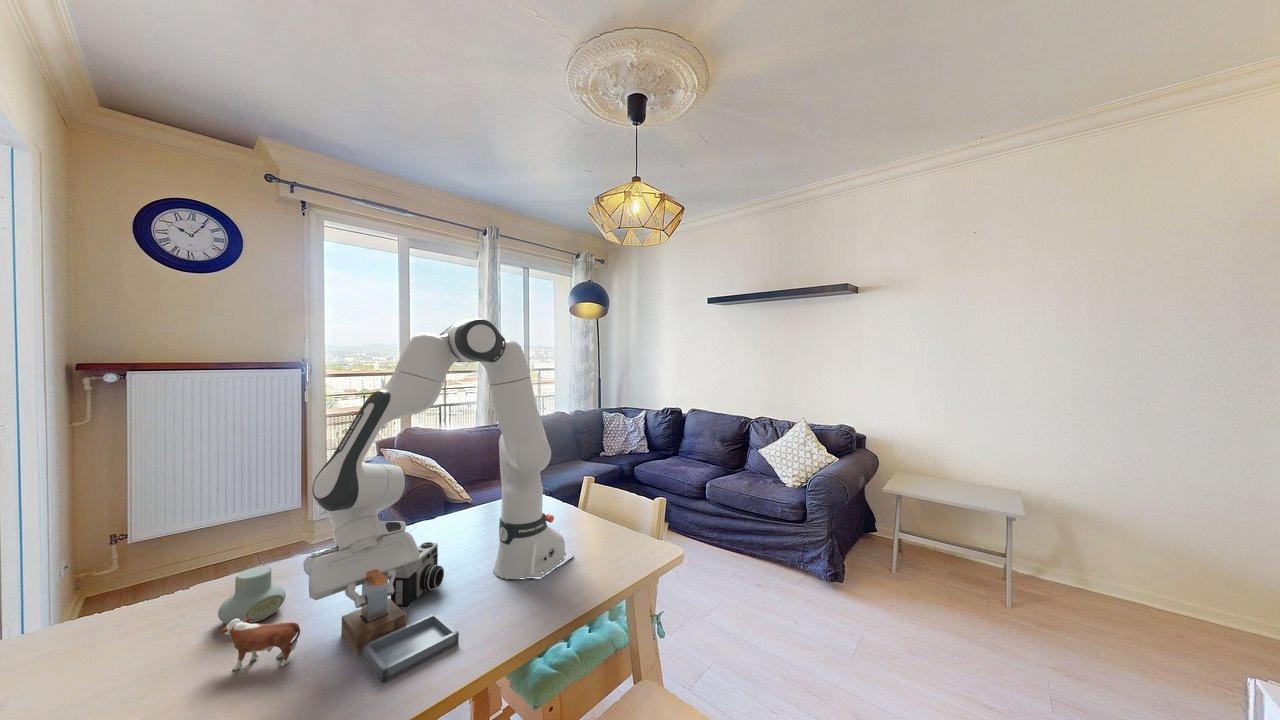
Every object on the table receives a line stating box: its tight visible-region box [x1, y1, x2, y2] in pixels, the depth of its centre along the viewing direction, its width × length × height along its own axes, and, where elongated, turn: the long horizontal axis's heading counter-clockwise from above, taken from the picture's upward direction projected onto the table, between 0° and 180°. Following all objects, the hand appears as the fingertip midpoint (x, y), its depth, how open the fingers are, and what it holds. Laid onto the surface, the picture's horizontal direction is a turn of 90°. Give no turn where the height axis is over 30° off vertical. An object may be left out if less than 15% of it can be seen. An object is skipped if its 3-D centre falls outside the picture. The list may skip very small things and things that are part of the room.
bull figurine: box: [220, 618, 301, 672], centre depth 79 cm, size 4×13×8 cm, turn 95°
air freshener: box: [217, 565, 286, 625], centre depth 93 cm, size 11×8×10 cm
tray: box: [361, 612, 460, 685], centre depth 84 cm, size 14×10×2 cm
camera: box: [390, 541, 445, 609], centre depth 104 cm, size 14×9×10 cm, turn 170°
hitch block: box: [340, 597, 407, 656], centre depth 88 cm, size 9×9×4 cm
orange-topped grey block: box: [361, 569, 389, 624], centre depth 88 cm, size 4×6×13 cm, turn 51°
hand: (375, 600), depth 88 cm, fingers open, 4 cm apart
